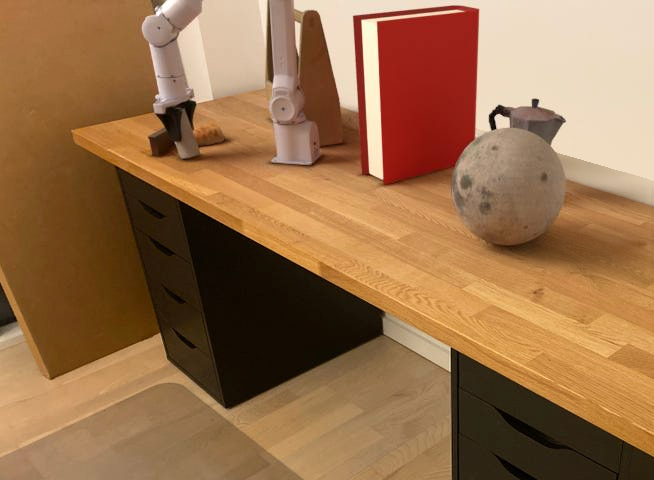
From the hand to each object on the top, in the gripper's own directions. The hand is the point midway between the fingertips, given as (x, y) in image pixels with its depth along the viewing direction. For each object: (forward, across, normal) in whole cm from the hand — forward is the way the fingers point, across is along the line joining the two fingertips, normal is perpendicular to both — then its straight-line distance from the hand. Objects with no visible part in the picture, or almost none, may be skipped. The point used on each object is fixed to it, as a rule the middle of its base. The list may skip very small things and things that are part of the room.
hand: (181, 137), depth 164 cm
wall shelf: (+4, -8, -7) cm, 11 cm away
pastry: (+5, -12, 0) cm, 12 cm away
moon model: (+5, +31, +77) cm, 84 cm away
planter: (+4, 0, +1) cm, 4 cm away
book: (+5, -5, +54) cm, 55 cm away
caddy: (+5, -26, +20) cm, 33 cm away
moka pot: (+5, +9, +78) cm, 79 cm away
